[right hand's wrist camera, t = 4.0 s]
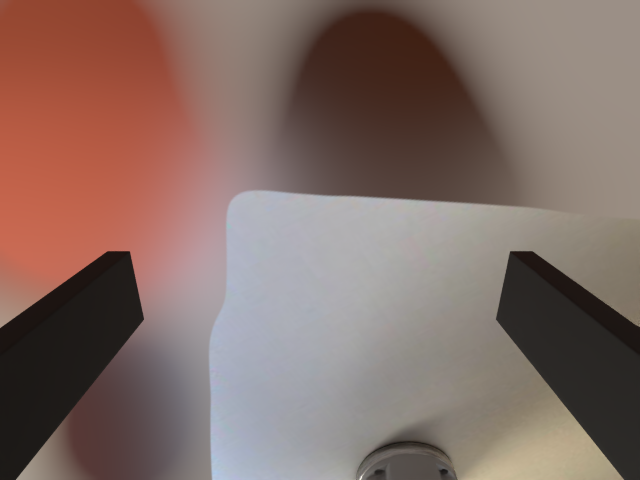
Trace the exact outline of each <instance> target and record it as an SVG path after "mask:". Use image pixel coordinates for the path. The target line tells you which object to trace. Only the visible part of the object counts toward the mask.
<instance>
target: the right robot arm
mask: <svg viewBox="0 0 640 480" xmlns="http://www.w3.org/2000/svg"><path fill="white" fill-rule="evenodd" d="M143 320H144V317H143V312H142V307H141V303H140V298H139V293H138V288H137V283H136V279H135V274H134V269H133V264H132V260H131V255H130V252H129V251H108V252H106V253H105V254H103V255H102V256H100V257H99V258H98V259H96V260H95V261H93V262H92V263H91V264H89V265H88V266H86V267H85V268H84V269H82V270H81V271H79V272H78V273H77V274H75V275H74V276H72V277H71V278H70V279H68V280H67V281H66V282H64V283H63V284H61V285H60V286H58V287H57V288H56V289H54V290H53V291H51V292H50V293H49V294H47V295H46V296H44V297H43V298H42V299H40V300H39V301H37V302H36V303H35V304H33V305H32V306H30V307H29V308H28V309H26V310H25V311H23V312H22V313H21V314H19V315H18V316H16V317H15V318H14V319H12V320H11V321H9V322H8V323H7V324H5V325H4V326H2V327H1V328H0V480H16V479H17V477H18V476H19V475H20V474H21V472H22V471H23V470H24V469H25V467H26V466H27V465H28V464H29V462H30V461H31V460H32V459H33V457H34V456H35V455H36V454H37V452H38V451H39V450H40V449H41V447H42V446H43V445H44V444H45V442H46V441H47V440H48V439H49V437H50V436H51V435H52V434H53V432H54V431H55V430H56V429H57V427H58V426H59V425H60V424H61V422H62V421H63V420H64V419H65V417H66V416H67V415H68V414H69V412H70V411H71V410H72V409H73V407H74V406H75V405H76V404H77V402H78V401H79V400H80V399H81V397H82V396H83V395H84V394H85V392H86V391H87V390H88V389H89V387H90V386H91V385H92V384H93V382H94V381H95V380H96V379H97V377H98V376H99V375H100V374H101V373H102V371H103V370H104V369H105V368H106V366H107V365H108V364H109V363H110V361H111V360H112V359H113V358H114V356H115V355H116V354H117V353H118V351H119V350H120V349H121V347H122V346H123V345H124V344H125V343H126V341H127V340H128V339H129V338H130V336H131V335H132V334H133V333H134V331H135V330H136V329H137V328H138V326H139V325H140V324H141V323H142V321H143ZM496 320H497V321H498V323H499V324H500V325H501V326H502V328H503V329H504V330H505V331H506V333H507V334H508V335H509V336H510V338H511V339H512V340H513V341H514V343H515V344H516V345H517V346H518V348H519V349H520V350H521V351H522V353H523V354H524V355H525V356H526V358H527V359H528V360H529V361H530V363H531V364H532V365H533V366H534V368H535V369H536V370H537V371H538V373H539V374H540V375H541V376H542V378H543V379H544V380H545V381H546V383H547V384H548V385H549V386H550V387H551V389H552V390H553V391H554V392H555V394H556V395H557V396H558V397H559V399H560V400H561V401H562V402H563V404H564V405H565V406H566V407H567V409H568V410H569V411H570V412H571V414H572V415H573V416H574V417H575V419H576V420H577V421H578V422H579V424H580V425H581V426H582V427H583V429H584V430H585V431H586V432H587V434H588V435H589V436H590V437H591V439H592V440H593V441H594V442H595V444H596V445H597V446H598V447H599V449H600V450H601V451H602V452H603V454H604V455H605V456H606V457H607V459H608V460H609V461H610V462H611V464H612V465H613V466H614V467H615V469H616V470H617V471H618V472H619V474H620V475H621V476H622V477H623V479H624V480H640V327H639V326H636V325H635V324H633V323H632V322H631V321H629V320H628V319H626V318H625V317H624V316H622V315H621V314H619V313H618V312H617V311H615V310H614V309H612V308H611V307H610V306H608V305H607V304H605V303H604V302H603V301H601V300H600V299H598V298H597V297H596V296H594V295H593V294H591V293H590V292H589V291H587V290H586V289H584V288H583V287H582V286H580V285H579V284H577V283H576V282H575V281H573V280H572V279H570V278H569V277H568V276H566V275H565V274H563V273H562V272H561V271H559V270H558V269H556V268H555V267H554V266H552V265H551V264H549V263H548V262H547V261H545V260H544V259H542V258H541V257H540V256H538V255H537V254H535V253H534V252H533V251H510V255H509V260H508V264H507V269H506V274H505V279H504V283H503V288H502V293H501V298H500V303H499V307H498V312H497V317H496ZM356 480H457V477H456V474H455V471H454V468H453V465H452V463H451V461H450V460H449V458H448V457H447V456H446V455H445V454H444V453H443V452H441V451H440V450H438V449H436V448H434V447H432V446H429V445H426V444H421V443H411V442H407V443H397V444H392V445H389V446H386V447H383V448H381V449H379V450H377V451H375V452H373V453H372V454H371V455H369V456H368V457H367V458H366V459H365V460H364V461H363V462H362V464H361V465H360V467H359V469H358V472H357V476H356Z"/></svg>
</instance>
